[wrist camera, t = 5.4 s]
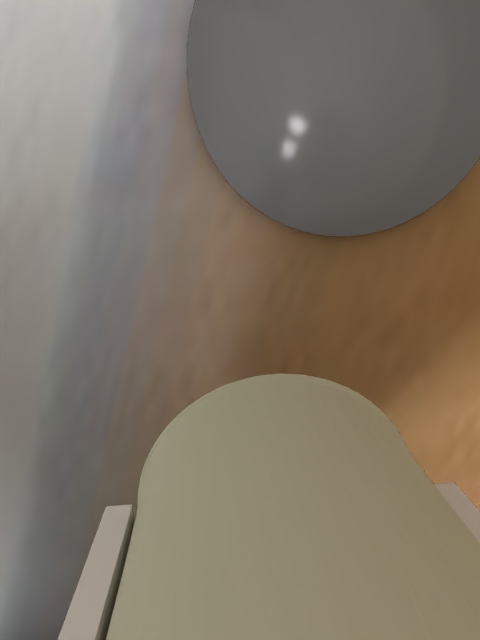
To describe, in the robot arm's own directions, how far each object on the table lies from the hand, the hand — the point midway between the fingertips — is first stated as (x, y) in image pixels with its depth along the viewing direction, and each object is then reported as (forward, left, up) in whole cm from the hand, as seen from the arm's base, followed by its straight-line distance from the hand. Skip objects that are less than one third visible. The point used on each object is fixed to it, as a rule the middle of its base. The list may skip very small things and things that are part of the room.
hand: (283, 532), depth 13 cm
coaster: (+3, +14, -7) cm, 16 cm away
